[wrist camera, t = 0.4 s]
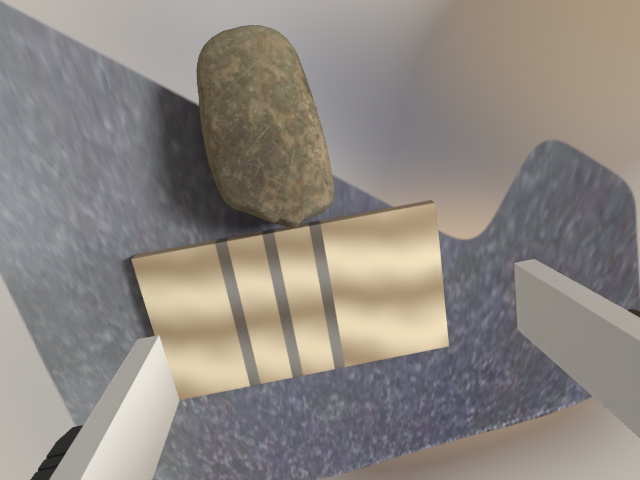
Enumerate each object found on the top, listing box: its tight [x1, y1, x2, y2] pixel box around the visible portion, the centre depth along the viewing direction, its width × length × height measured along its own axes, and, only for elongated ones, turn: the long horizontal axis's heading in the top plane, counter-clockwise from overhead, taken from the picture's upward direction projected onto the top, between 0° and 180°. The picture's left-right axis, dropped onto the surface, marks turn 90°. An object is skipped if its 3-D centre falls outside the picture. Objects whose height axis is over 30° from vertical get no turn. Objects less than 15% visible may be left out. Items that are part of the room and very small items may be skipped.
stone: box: [197, 25, 334, 228], centre depth 33 cm, size 9×14×10 cm, turn 13°
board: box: [131, 200, 449, 400], centre depth 39 cm, size 14×26×1 cm, turn 100°
